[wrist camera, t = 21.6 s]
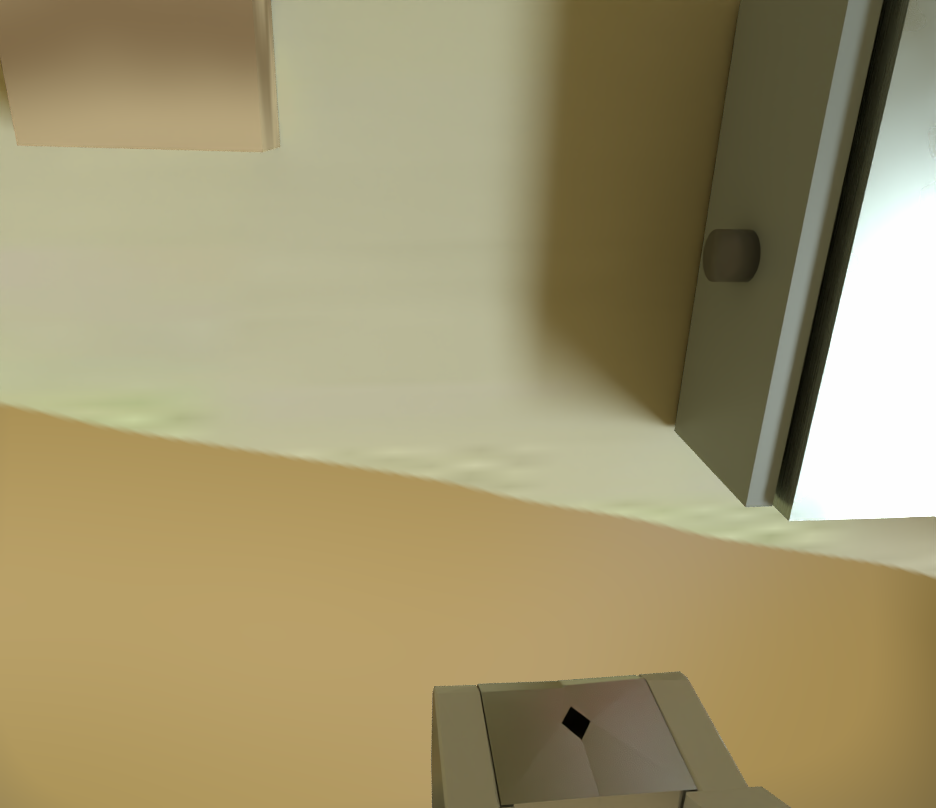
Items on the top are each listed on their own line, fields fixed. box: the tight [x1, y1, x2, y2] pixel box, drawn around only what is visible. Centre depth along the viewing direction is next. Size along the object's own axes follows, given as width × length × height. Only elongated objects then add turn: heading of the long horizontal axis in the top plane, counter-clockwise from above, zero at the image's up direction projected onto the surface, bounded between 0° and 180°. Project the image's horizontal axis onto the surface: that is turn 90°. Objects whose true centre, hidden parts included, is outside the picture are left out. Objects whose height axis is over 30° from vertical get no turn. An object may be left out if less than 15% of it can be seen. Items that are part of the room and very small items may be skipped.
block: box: [0, 0, 280, 152], centre depth 22 cm, size 7×7×4 cm
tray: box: [674, 0, 883, 507], centre depth 26 cm, size 17×17×7 cm
